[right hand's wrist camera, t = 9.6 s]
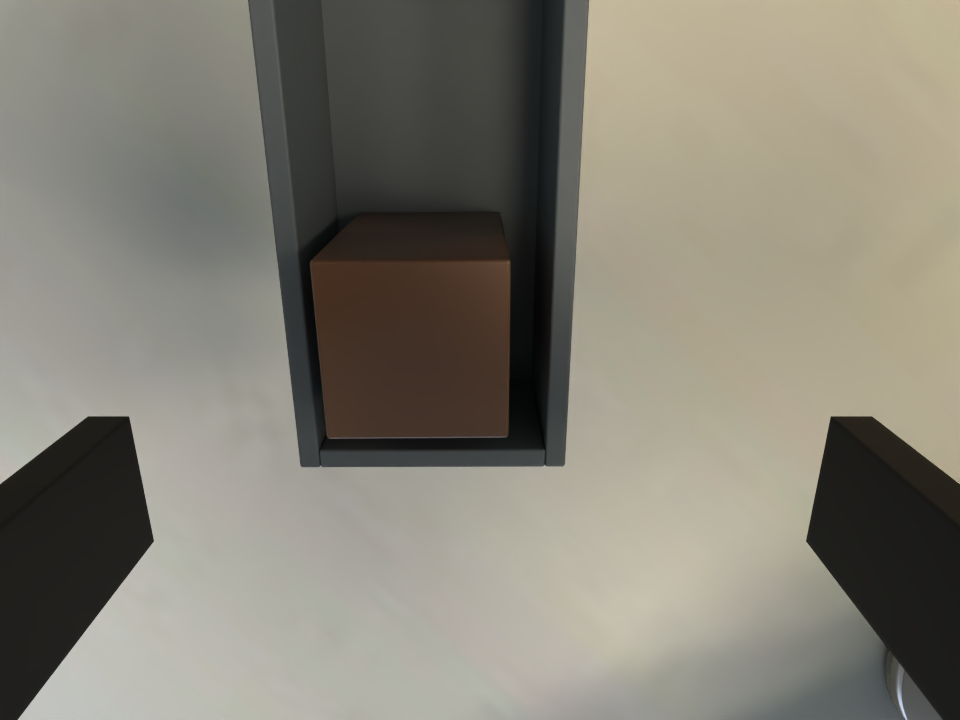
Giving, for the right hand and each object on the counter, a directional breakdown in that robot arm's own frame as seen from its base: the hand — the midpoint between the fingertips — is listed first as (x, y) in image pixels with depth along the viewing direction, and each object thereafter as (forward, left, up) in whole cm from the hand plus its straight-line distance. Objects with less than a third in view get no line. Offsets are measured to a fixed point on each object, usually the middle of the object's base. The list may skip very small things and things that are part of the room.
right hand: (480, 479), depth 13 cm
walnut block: (+1, -2, -8) cm, 8 cm away
